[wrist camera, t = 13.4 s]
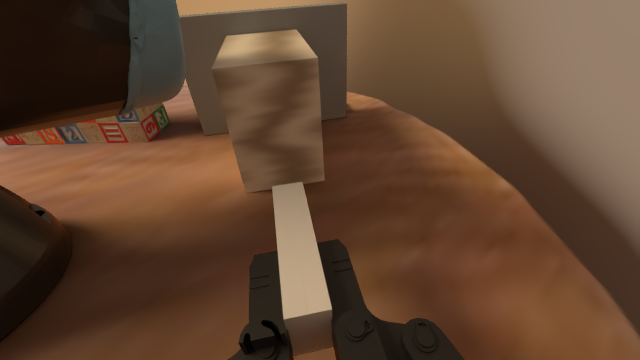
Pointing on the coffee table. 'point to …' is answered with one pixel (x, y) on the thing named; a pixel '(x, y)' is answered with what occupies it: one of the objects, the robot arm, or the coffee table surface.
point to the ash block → (272, 107)
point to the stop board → (212, 28)
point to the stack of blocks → (102, 129)
